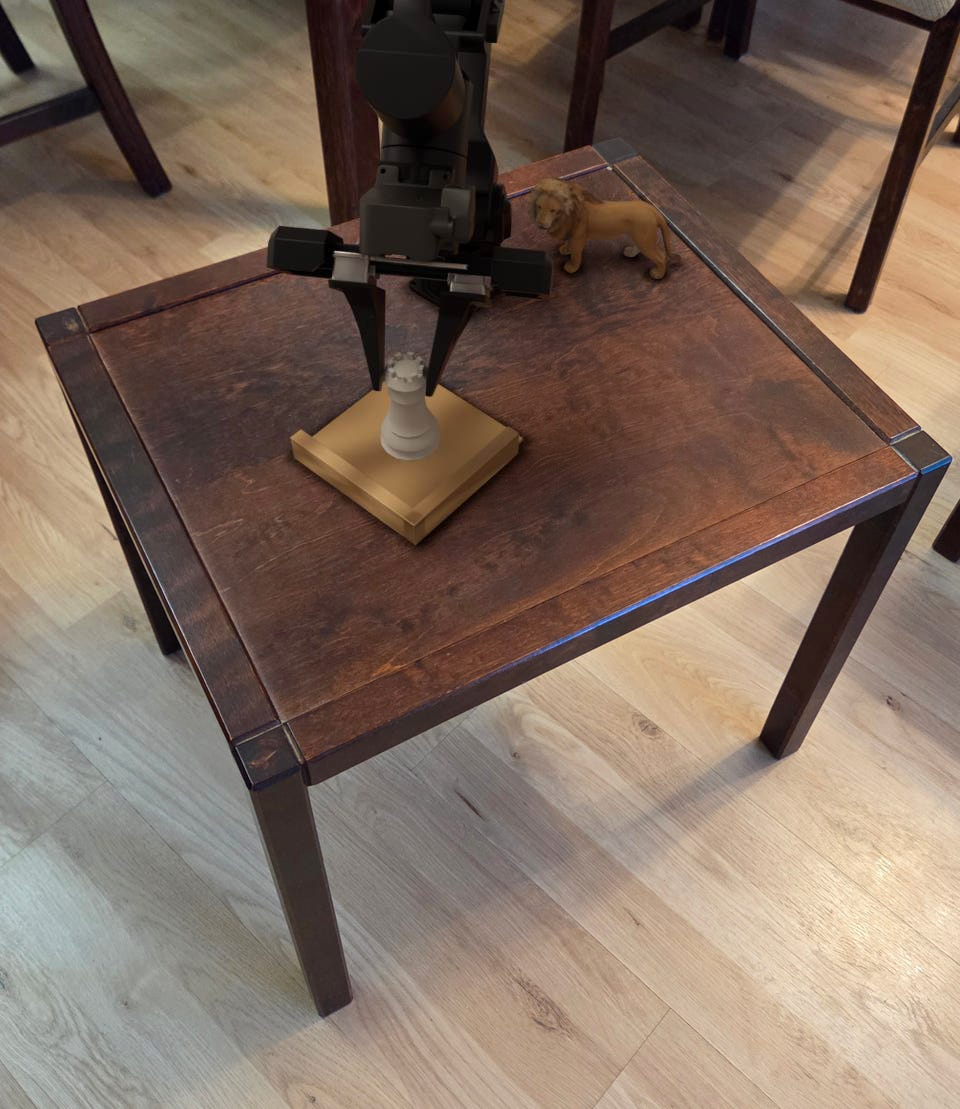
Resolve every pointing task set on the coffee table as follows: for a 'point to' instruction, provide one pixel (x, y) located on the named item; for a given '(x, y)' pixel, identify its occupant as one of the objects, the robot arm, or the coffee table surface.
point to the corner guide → (408, 486)
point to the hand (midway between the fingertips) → (402, 393)
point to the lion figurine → (597, 222)
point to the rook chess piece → (408, 410)
